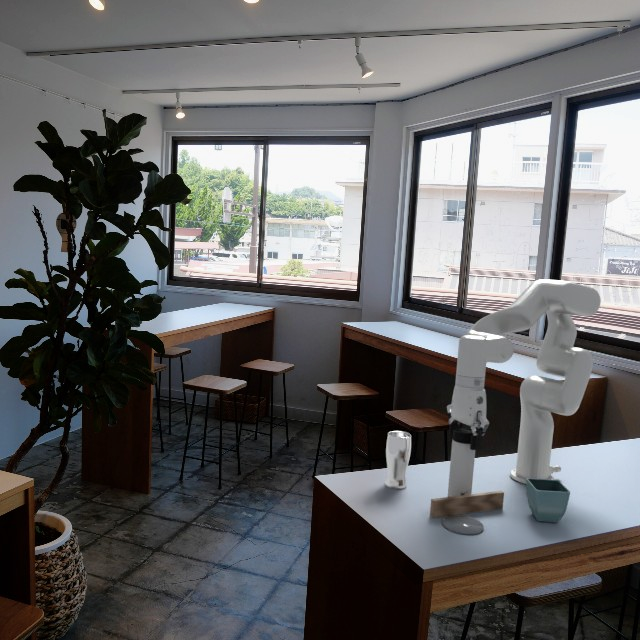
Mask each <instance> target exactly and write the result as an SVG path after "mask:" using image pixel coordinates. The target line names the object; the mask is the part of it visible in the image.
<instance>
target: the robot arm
mask: <svg viewBox="0 0 640 640" xmlns="http://www.w3.org/2000/svg"><path fill="white" fill-rule="evenodd" d="M601 303H602V300H601V296H600V293H599V292H598V290H596V289H595V288H594V287H591V286H587V285H583V284H579V283H576V282H572V281H566V280H558V279H537V280H534V281H533V282H531V284H529V286H528V287H527V288H525V289H524V291H522V292H521V294H519V295H518V297H517V298H516V299H515V300H514V301H513V302H512V303H511V304H510V305H509V306H507V307H504V308H502V309H499V310H497V311H494V312H492V313H490V314H488V315H486V316H483V317H482V318H480V319H479V320H478V321H476V322H475V323H474V324H473V325H472V326H471V327H470V328H469V329H468V330H467V331H466V333H465V335H462V336H460V337H459V339H458V350H457V361H456V362H457V363H456V374H455V385H454V388H453V393H452V398H451V403H450V404H448V405H447V406H446V410H447V417H448V424H449V429H448V430H449V431H448V439H450V440H452V439H453V431H454V430H456V429H460V428H461V426H462V425H461V424H464V425H466V426H467V427H470V429H472V432H473V435H471V444H470V449H471V450H475V451H477V450H482V446H483V436H485V434H486V432H487V431H488V427H489V425H490V421H489V420H488V419H487V393H486V389H485V381H486V371H487V370H486V369H487V363H490V364H491V363H492V364H503V363H504V364H505V363H506V362H508V361H509V360H510V359H511V358H512V357H513V355H514V352H515V351H514V350H515V347H514V344H513V342H512V340H511V339H509V338H508V337H506V336H503V335H505V334H511V333H518V332H524V331H527V330H529V329H530V330H531V329H532V328H533V326H534V325H536V323H537V322H538V321H539V320H540V319H542V317H543V315H545V313H546V316H547V317H546V318H547V329H546V333H545V336H544V338H543V340H542V344H541V346H540V349H539V351H538V355H537V358H536V367H537V370H539V372H541V373H543V374H545V375H546V374H547V375H550V376H554V377H559V378H564V381H562V380H558V379H554V378H550V377H547V376H542V375H541V376H540V375H531V376H528V377H526V378H524V380H523V381H522V382H521V384H520V387H519V397H520V406H521V407H520V408H521V409H520V411H521V412H520V424H519V425H520V427H519V435H518V445H517V453H516V454H517V455H516V465H515V468H513V469H511V470H510V471H509V472H510V474H509V475H510V477H511V478H512V480H514V481H517V482H519V483H521V484H524V485H525V484H526V478H531V479H547V480H555V479H554V477H553V475H552V474H553V473H560V472H561V471H562V467H561V466H560V465H552V464H551V456H552V447H553V446H552V445H553V436H554V428H555V425H554V424H555V423H554V419H553V418H554V417H553V415H552V413H554V414H558V415H561V416H566V417H568V416H572V415H574V414H575V413H576V412H577V411H578V409H579V408H580V405H581V403H582V400H583V398H584V395H585V392H586V389H587V386H588V384H589V381H590V379H591V376H592V371H593V366H594V364H593V357H592V355H591V353H590V352H589V351H588V350H586V349H584V348H581V347H578V346H577V347H574V345H575V341H576V339H577V335H578V332H577V326H576V324H575V322H574V320H573V317H572V316H580V317H591V316H594V315H595V314H597V312H598V311H599V309H600V307H601ZM571 315H572V316H571ZM460 423H461V424H460Z"/></svg>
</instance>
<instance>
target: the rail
mask: <svg viewBox="0 0 640 640" xmlns="http://www.w3.org/2000/svg"><path fill="white" fill-rule="evenodd" d="M504 497H505V492H504V491H503V490H497V491H487V492H486V491H485V492H480V493H479V492H478V493H471V494H470V495H461V496H453V497H448V496H445V497H438V498H431V499H430V509H429V517H430V518H431V519H433V518H434V519H436V518H442V517H443V518H445V517H447V516H451V515H464V514H473V513H479V512H487V511H488V512H489V511H495V510H501V509H502V510H503V508H504V499H505V498H504Z"/></svg>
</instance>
